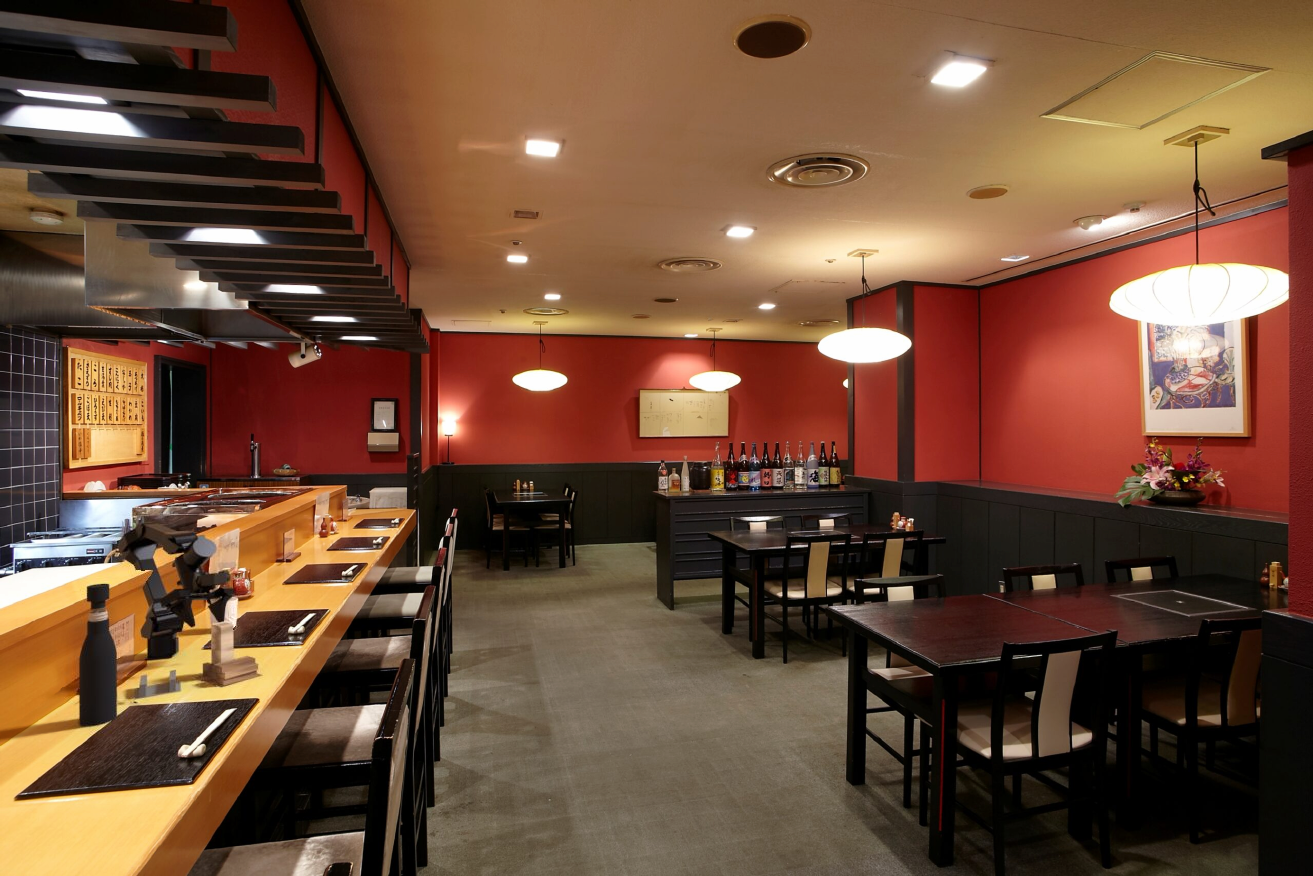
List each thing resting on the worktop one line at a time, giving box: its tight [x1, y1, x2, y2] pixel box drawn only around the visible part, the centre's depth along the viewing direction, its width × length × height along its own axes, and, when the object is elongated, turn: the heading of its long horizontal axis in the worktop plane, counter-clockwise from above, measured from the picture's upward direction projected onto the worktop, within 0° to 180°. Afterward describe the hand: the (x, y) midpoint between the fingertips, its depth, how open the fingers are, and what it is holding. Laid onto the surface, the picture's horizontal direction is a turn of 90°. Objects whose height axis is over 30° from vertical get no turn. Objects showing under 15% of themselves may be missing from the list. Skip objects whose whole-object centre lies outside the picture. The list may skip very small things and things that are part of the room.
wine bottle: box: [78, 583, 118, 727], centre depth 148 cm, size 6×6×30 cm
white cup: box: [208, 596, 239, 628], centre depth 218 cm, size 8×8×10 cm
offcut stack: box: [214, 655, 259, 685], centre depth 171 cm, size 5×8×4 cm, turn 149°
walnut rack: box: [194, 662, 263, 688], centre depth 173 cm, size 14×10×4 cm
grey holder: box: [133, 669, 182, 704], centre depth 164 cm, size 9×9×4 cm
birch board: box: [210, 622, 235, 664], centre depth 174 cm, size 5×3×13 cm, turn 59°
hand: (208, 625), depth 181 cm, fingers open, 9 cm apart
